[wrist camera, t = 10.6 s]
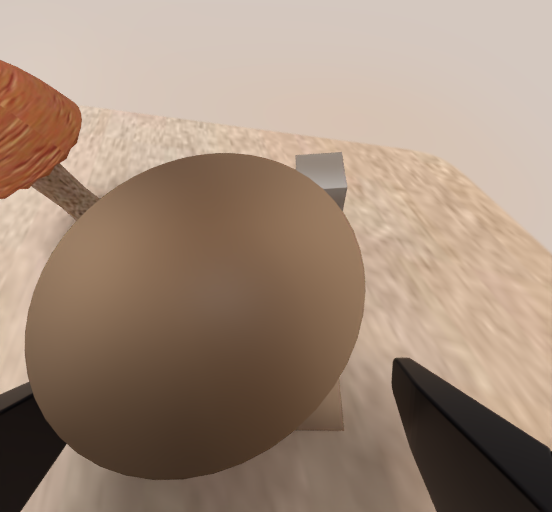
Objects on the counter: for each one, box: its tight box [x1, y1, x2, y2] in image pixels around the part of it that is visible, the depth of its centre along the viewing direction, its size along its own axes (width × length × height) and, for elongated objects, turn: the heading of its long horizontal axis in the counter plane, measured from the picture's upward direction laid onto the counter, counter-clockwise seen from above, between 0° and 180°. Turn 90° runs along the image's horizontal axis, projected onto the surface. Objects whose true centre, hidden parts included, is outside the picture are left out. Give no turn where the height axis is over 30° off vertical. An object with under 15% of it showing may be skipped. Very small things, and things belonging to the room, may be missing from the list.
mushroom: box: [0, 60, 100, 221], centre depth 17 cm, size 8×8×15 cm
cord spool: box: [25, 153, 365, 480], centre depth 11 cm, size 6×6×13 cm
